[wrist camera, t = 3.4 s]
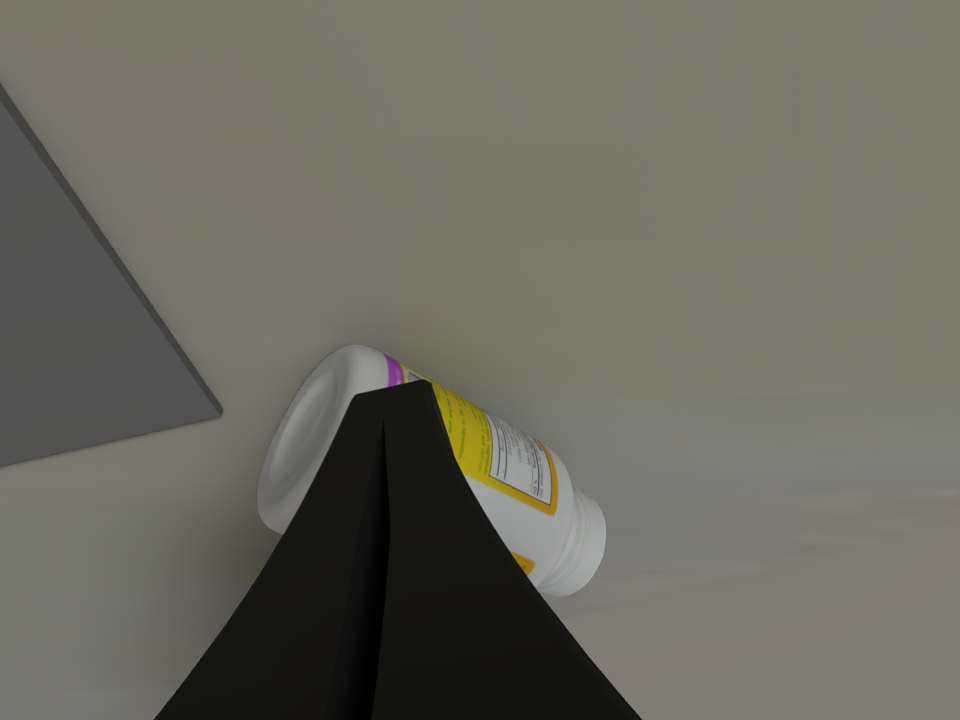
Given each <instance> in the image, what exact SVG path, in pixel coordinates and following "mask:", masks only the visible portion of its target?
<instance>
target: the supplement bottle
mask: <svg viewBox="0 0 960 720" xmlns="http://www.w3.org/2000/svg"><path fill="white" fill-rule="evenodd" d="M421 379H425V380H427V381H429V382H431V383H432V386H433V389H434V392H435V395H436V398H437V402H438V405H439V408H440V411H441V414H442V417H443V420H444V424H445V427H446V430H447V433H448V436H449V439H450V442H451V446H452V449H453V452H454V456H455V458H456V460H457V462H458V464H459V467H460V469H461V471H462V473H463V475H464V476H465V478H466V480H467V482H468V484H469V486H470V488H471V489H472V491H473V493H474V495H475V496H476V498H477V500H478V501H479V503H480V505H481V507H482V508H483V510H484V512H485V513H486V515H487V517H488V518H489V520H490V521H491V523H492V525H493V526H494V528H495V529H496V531H497V533H498V534H499V536H500V537H501V539H502V540H503V542H504V543H505V545H506V546H507V548H508V549H509V551H510V552H511V554H512V555H513V557H514V558H515V560H516V561H517V563H518V564H519V565H520V567H521V568H522V570H523V571H524V572H525V574H526V575H527V577H528V578H529V579H530V581H531V582H532V584H533V585H534V586H535V588H536V589H537V591H538V592H539V593H541V594H544V595H548V596H552V597H563V596H568V595H570V594H573V593H575V592H576V591H578V590H580V589H581V588H582V587H583V586H584V585H586V584H587V583H588V582H589V580H590V579H591V578H592V576H593V575H594V573H595V572H596V570H597V568H598V566H599V564H600V562H601V559H602V556H603V553H604V549H605V542H606V526H605V520H604V517H603V514H602V511H601V509H600V507H599V506H598V504H597V503H596V501H595V500H594V499H593V498H592V497H591V496H589V495H588V494H586V493H585V492H583V491H581V490H579V489H578V488H577V487H575V486H574V485H572V484H571V480H570V477H569V475H568V472H567V470H566V468H565V466H564V464H563V462H562V461H561V460H560V458H559V457H558V456H557V455H556V453H555V452H554V451H552V450H551V449H550V448H549V447H547V446H546V445H544V444H542V443H541V442H539V441H538V440H536V439H534V438H533V437H531V436H529V435H527V434H525V433H524V432H522V431H520V430H518V429H516V428H515V427H513V426H511V425H509V424H508V423H506V422H504V421H502V420H500V419H499V418H497V417H495V416H493V415H492V414H490V413H488V412H486V411H484V410H483V409H481V408H479V407H478V406H476V405H474V404H472V403H471V402H469V401H467V400H465V399H464V398H462V397H460V396H458V395H457V394H455V393H453V392H451V391H449V390H447V389H446V388H444V387H442V386H440V385H439V384H437V383H435V382H433V381H432V380H430V379H428V378H426V377H425V376H423V375H421V374H419V373H418V372H416V371H414V370H412V369H410V368H409V367H407V366H405V365H403V364H402V363H400V362H398V361H396V360H394V359H392V358H391V357H389V356H387V355H385V354H383V353H381V352H379V351H377V350H375V349H372V348H370V347H368V346H364V345H360V344H351V345H347V346H344V347H341V348H339V349H338V350H336V351H334V352H333V353H331V354H330V355H329V356H327V357H326V358H325V359H324V360H323V361H322V362H321V363H320V364H319V365H318V366H317V367H316V368H315V369H314V371H313V372H312V373H311V374H310V376H309V377H308V378H307V379H306V381H305V382H304V384H303V385H302V387H301V388H300V390H299V391H298V393H297V394H296V396H295V397H294V399H293V401H292V403H291V404H290V406H289V408H288V410H287V412H286V414H285V415H284V417H283V419H282V421H281V423H280V425H279V427H278V429H277V431H276V433H275V435H274V437H273V439H272V441H271V444H270V446H269V449H268V452H267V454H266V457H265V459H264V462H263V465H262V469H261V473H260V477H259V482H258V488H257V507H258V512H259V515H260V517H261V519H262V521H263V522H264V524H265V525H266V526H267V527H268V528H270V529H271V530H273V531H275V532H277V533H279V534H282V535H283V534H284V532H285V531H286V529H287V527H288V525H289V524H290V522H291V520H292V518H293V517H294V515H295V513H296V512H297V510H298V508H299V506H300V504H301V502H302V501H303V499H304V497H305V495H306V493H307V491H308V489H309V487H310V485H311V483H312V481H313V479H314V477H315V475H316V473H317V471H318V470H319V468H320V466H321V464H322V462H323V460H324V458H325V456H326V453H327V451H328V449H329V447H330V445H331V443H332V441H333V439H334V437H335V434H336V432H337V430H338V428H339V426H340V424H341V421H342V419H343V417H344V415H345V412H346V410H347V408H348V406H349V403H350V401H351V400H352V398H353V397H354V395H355V394H359V393H363V392H368V391H372V390H377V389H381V388H385V387H390V386H394V385H399V384H403V383H408V382H412V381H417V380H421Z"/></svg>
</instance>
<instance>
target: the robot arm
mask: <svg viewBox="0 0 960 720" xmlns="http://www.w3.org/2000/svg"><path fill="white" fill-rule="evenodd" d="M154 720H642V719H641V718H640V716H639V715H638V714H637V713H636V712H635V711H634V710H633V709H632V707H631V706H630V705H629V704H628V703H627V702H626V701H625V699H624V698H623V697H622V696H621V695H620V693H619V692H618V691H617V690H616V689H615V687H614V686H613V685H612V684H611V683H610V681H609V680H608V679H607V678H606V677H605V676H604V674H603V673H602V672H601V671H600V670H599V669H598V667H597V666H596V665H595V664H594V662H593V661H592V660H591V659H590V658H589V656H588V655H587V654H586V653H585V651H584V650H583V649H582V647H581V646H580V645H579V644H578V642H577V641H576V640H575V638H574V637H573V636H572V635H571V633H570V632H569V631H568V630H567V628H566V627H565V626H564V624H563V623H562V622H561V621H560V619H559V618H558V617H557V615H556V614H555V613H554V612H553V610H552V609H551V608H550V606H549V605H548V604H547V603H546V601H545V600H544V599H543V597H542V596H541V595H540V593H539V592H538V591H537V589H536V588H535V586H534V585H533V584H532V582H531V581H530V579H529V578H528V577H527V575H526V574H525V572H524V571H523V570H522V568H521V567H520V565H519V564H518V563H517V561H516V560H515V558H514V557H513V555H512V554H511V552H510V551H509V549H508V548H507V546H506V545H505V543H504V542H503V540H502V539H501V537H500V536H499V534H498V533H497V531H496V529H495V528H494V526H493V525H492V523H491V521H490V520H489V518H488V517H487V515H486V513H485V512H484V510H483V508H482V507H481V505H480V503H479V501H478V500H477V498H476V496H475V495H474V493H473V491H472V489H471V488H470V486H469V484H468V482H467V480H466V478H465V476H464V475H463V473H462V471H461V469H460V467H459V464H458V462H457V460H456V458H455V456H454V452H453V449H452V446H451V442H450V439H449V436H448V433H447V430H446V427H445V424H444V420H443V417H442V414H441V411H440V408H439V405H438V402H437V398H436V395H435V392H434V389H433V386H432V383H431V382H429V381H427V380H425V379H421V380H417V381H412V382H408V383H403V384H399V385H394V386H390V387H385V388H381V389H377V390H372V391H368V392H363V393H359V394H355V395H354V397H353V398H352V400H351V401H350V403H349V406H348V408H347V410H346V412H345V415H344V417H343V419H342V421H341V424H340V426H339V428H338V430H337V432H336V434H335V437H334V439H333V441H332V443H331V445H330V447H329V449H328V451H327V453H326V456H325V458H324V460H323V462H322V464H321V466H320V468H319V470H318V471H317V473H316V475H315V477H314V479H313V481H312V483H311V485H310V487H309V489H308V491H307V493H306V495H305V497H304V499H303V501H302V502H301V504H300V506H299V508H298V510H297V512H296V513H295V515H294V517H293V518H292V520H291V522H290V524H289V525H288V527H287V529H286V531H285V532H284V534H283V536H282V538H281V539H280V541H279V543H278V544H277V546H276V548H275V550H274V551H273V553H272V555H271V556H270V558H269V560H268V561H267V563H266V564H265V566H264V568H263V569H262V571H261V572H260V574H259V576H258V577H257V579H256V580H255V582H254V583H253V585H252V586H251V588H250V590H249V591H248V593H247V594H246V596H245V597H244V599H243V600H242V601H241V603H240V604H239V606H238V607H237V609H236V610H235V612H234V613H233V615H232V616H231V618H230V619H229V621H228V622H227V623H226V625H225V626H224V628H223V629H222V630H221V632H220V633H219V635H218V636H217V637H216V639H215V640H214V641H213V643H212V644H211V645H210V647H209V648H208V650H207V651H206V652H205V654H204V655H203V656H202V658H201V659H200V660H199V662H198V663H197V664H196V666H195V667H194V669H193V670H192V671H191V673H190V674H189V675H188V677H187V678H186V679H185V681H184V682H183V683H182V684H181V686H180V687H179V688H178V690H177V691H176V692H175V694H174V695H173V696H172V697H171V699H170V700H169V701H168V702H167V704H166V705H165V706H164V707H163V709H162V710H161V711H160V713H159V714H158V715H157V716H156V717H155V719H154Z"/></svg>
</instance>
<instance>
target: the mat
mask: <svg viewBox="0 0 960 720" xmlns="http://www.w3.org/2000/svg"><path fill="white" fill-rule="evenodd" d="M222 411H223V409H222V407H221V406H220V404H219V403H218V401H217V400H216V398H215V397H214V395H213V394H212V392H211V391H210V390H209V388H208V387H207V385H206V384H205V382H204V381H203V379H202V378H201V376H200V375H199V374H198V372H197V371H196V369H195V368H194V366H193V365H192V363H191V362H190V360H189V359H188V357H187V356H186V355H185V353H184V352H183V350H182V349H181V347H180V346H179V344H178V343H177V341H176V340H175V338H174V337H173V336H172V334H171V333H170V331H169V330H168V328H167V327H166V325H165V324H164V322H163V321H162V320H161V318H160V317H159V315H158V314H157V312H156V311H155V309H154V308H153V306H152V305H151V303H150V302H149V301H148V299H147V298H146V296H145V295H144V293H143V292H142V290H141V289H140V287H139V286H138V284H137V283H136V282H135V280H134V279H133V277H132V276H131V274H130V273H129V271H128V270H127V268H126V267H125V265H124V264H123V263H122V261H121V260H120V258H119V257H118V255H117V254H116V252H115V251H114V249H113V248H112V247H111V245H110V244H109V242H108V241H107V239H106V238H105V236H104V235H103V233H102V232H101V230H100V229H99V228H98V226H97V225H96V223H95V222H94V220H93V219H92V217H91V216H90V214H89V213H88V211H87V210H86V209H85V207H84V206H83V204H82V203H81V201H80V200H79V198H78V197H77V195H76V194H75V193H74V191H73V190H72V188H71V187H70V185H69V184H68V182H67V181H66V179H65V178H64V176H63V175H62V174H61V172H60V171H59V169H58V168H57V166H56V165H55V163H54V162H53V160H52V159H51V157H50V156H49V155H48V153H47V152H46V150H45V149H44V147H43V146H42V144H41V143H40V141H39V140H38V139H37V137H36V136H35V134H34V133H33V131H32V130H31V128H30V127H29V125H28V124H27V122H26V121H25V120H24V118H23V117H22V115H21V114H20V112H19V111H18V109H17V108H16V106H15V105H14V103H13V102H12V101H11V99H10V98H9V96H8V95H7V93H6V92H5V90H4V89H3V87H2V86H1V84H0V466H5V465H9V464H14V463H18V462H22V461H27V460H31V459H36V458H40V457H44V456H49V455H53V454H58V453H62V452H66V451H71V450H75V449H80V448H84V447H88V446H93V445H97V444H101V443H106V442H110V441H115V440H119V439H123V438H128V437H132V436H137V435H141V434H145V433H150V432H154V431H159V430H163V429H167V428H172V427H176V426H181V425H185V424H189V423H194V422H198V421H203V420H207V419H211V418H216V417H220V416H221V413H222Z"/></svg>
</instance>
